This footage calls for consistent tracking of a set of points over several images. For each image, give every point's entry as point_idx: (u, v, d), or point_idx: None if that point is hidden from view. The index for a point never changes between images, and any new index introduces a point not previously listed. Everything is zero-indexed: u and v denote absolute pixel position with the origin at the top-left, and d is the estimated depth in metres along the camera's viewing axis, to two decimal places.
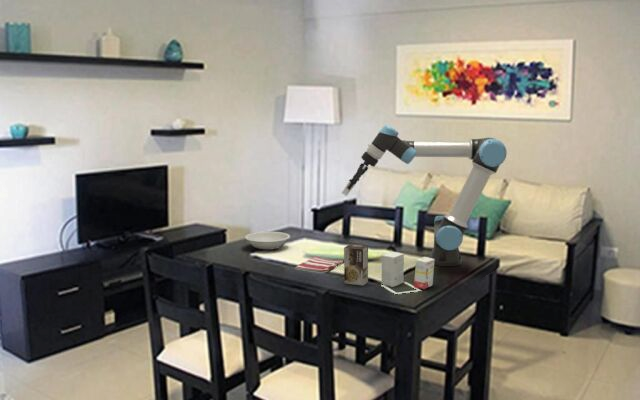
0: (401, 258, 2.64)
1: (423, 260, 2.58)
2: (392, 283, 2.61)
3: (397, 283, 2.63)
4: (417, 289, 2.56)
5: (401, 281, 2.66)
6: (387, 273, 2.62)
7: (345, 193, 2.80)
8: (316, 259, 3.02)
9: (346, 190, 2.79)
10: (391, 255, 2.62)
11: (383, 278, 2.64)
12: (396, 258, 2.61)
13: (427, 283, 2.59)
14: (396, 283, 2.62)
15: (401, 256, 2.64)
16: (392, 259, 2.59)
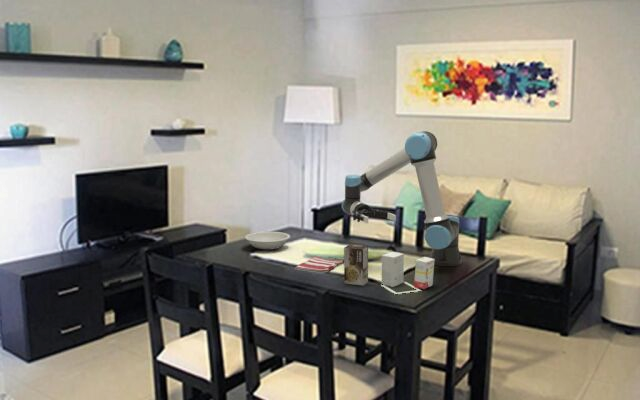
0: (401, 258, 2.64)
1: (423, 260, 2.58)
2: (392, 283, 2.61)
3: (397, 283, 2.63)
4: (417, 289, 2.56)
5: (401, 281, 2.66)
6: (387, 273, 2.62)
7: (366, 219, 2.71)
8: (316, 259, 3.02)
9: (364, 219, 2.72)
10: (391, 255, 2.62)
11: (383, 278, 2.64)
12: (396, 258, 2.61)
13: (427, 283, 2.59)
14: (396, 283, 2.62)
15: (401, 256, 2.64)
16: (392, 259, 2.59)
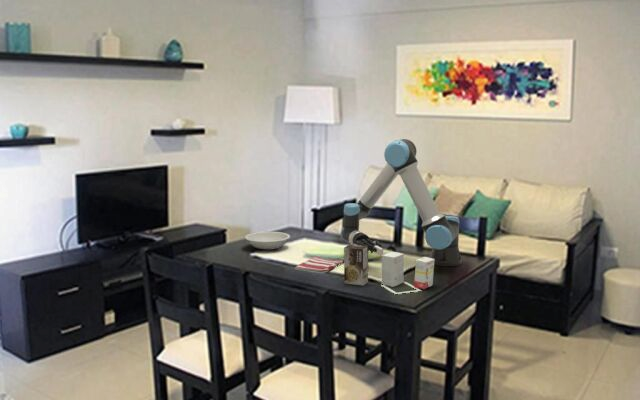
0: (401, 258, 2.64)
1: (423, 260, 2.58)
2: (392, 283, 2.61)
3: (397, 283, 2.63)
4: (417, 289, 2.56)
5: (401, 281, 2.66)
6: (387, 273, 2.62)
7: (379, 251, 2.72)
8: (316, 259, 3.02)
9: (377, 251, 2.74)
10: (391, 255, 2.62)
11: (383, 278, 2.64)
12: (396, 258, 2.61)
13: (427, 283, 2.59)
14: (396, 283, 2.62)
15: (401, 256, 2.64)
16: (392, 259, 2.59)
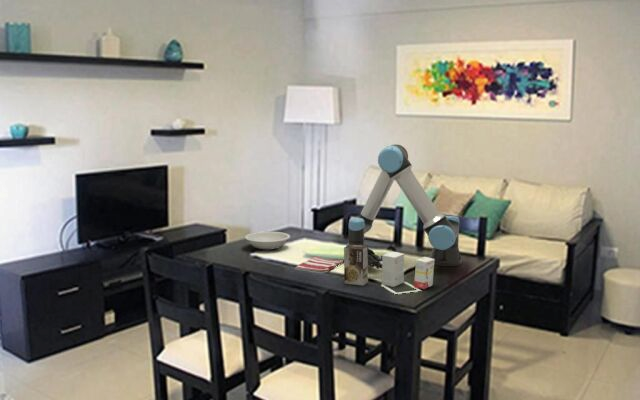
0: (401, 258, 2.63)
1: (423, 260, 2.58)
2: (393, 283, 2.61)
3: (397, 283, 2.63)
4: (417, 289, 2.56)
5: (401, 281, 2.65)
6: (387, 272, 2.62)
7: None
8: (316, 259, 3.02)
9: None
10: (392, 255, 2.62)
11: (383, 278, 2.64)
12: (397, 258, 2.60)
13: (427, 283, 2.59)
14: (396, 283, 2.62)
15: (402, 256, 2.63)
16: (393, 259, 2.59)
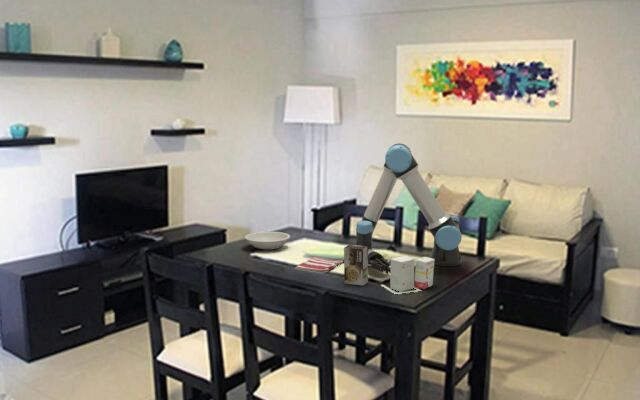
0: (411, 263, 2.56)
1: (423, 260, 2.58)
2: (400, 288, 2.54)
3: (405, 288, 2.56)
4: (417, 289, 2.56)
5: (411, 287, 2.57)
6: (395, 277, 2.55)
7: None
8: (316, 259, 3.02)
9: None
10: (400, 259, 2.55)
11: (391, 282, 2.57)
12: (404, 263, 2.53)
13: (427, 283, 2.59)
14: (404, 288, 2.55)
15: (411, 261, 2.55)
16: (400, 264, 2.52)
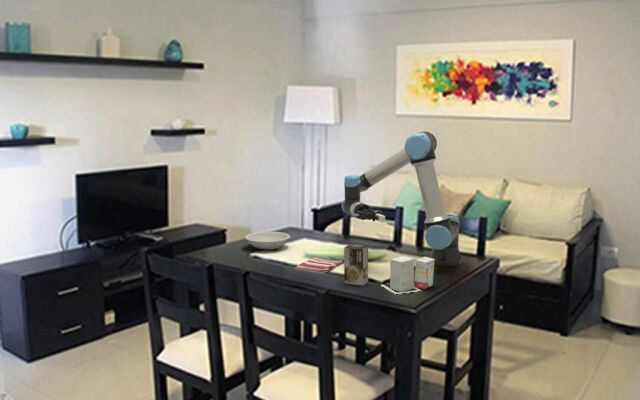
0: (411, 263, 2.56)
1: (423, 260, 2.58)
2: (400, 288, 2.54)
3: (405, 289, 2.56)
4: (417, 289, 2.56)
5: (411, 287, 2.57)
6: (395, 277, 2.55)
7: (381, 218, 2.70)
8: (316, 259, 3.02)
9: (379, 219, 2.71)
10: (400, 259, 2.55)
11: (391, 283, 2.57)
12: (404, 263, 2.53)
13: (427, 283, 2.59)
14: (404, 288, 2.55)
15: (411, 261, 2.56)
16: (399, 264, 2.52)
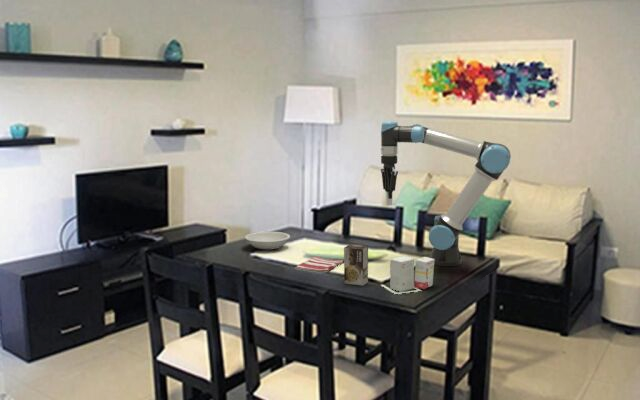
0: (411, 263, 2.56)
1: (423, 260, 2.58)
2: (400, 288, 2.54)
3: (405, 289, 2.56)
4: (417, 289, 2.56)
5: (411, 287, 2.57)
6: (395, 277, 2.55)
7: (390, 203, 2.90)
8: (316, 259, 3.02)
9: (389, 200, 2.89)
10: (400, 259, 2.55)
11: (391, 283, 2.57)
12: (404, 263, 2.53)
13: (427, 283, 2.59)
14: (404, 288, 2.55)
15: (411, 261, 2.56)
16: (399, 264, 2.52)
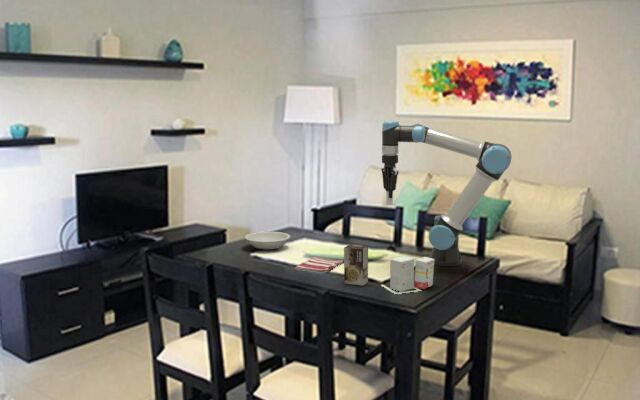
0: (411, 263, 2.56)
1: (423, 260, 2.58)
2: (400, 288, 2.54)
3: (405, 289, 2.56)
4: (417, 289, 2.56)
5: (411, 287, 2.57)
6: (395, 277, 2.55)
7: (390, 203, 2.90)
8: (316, 259, 3.02)
9: (389, 200, 2.89)
10: (400, 259, 2.55)
11: (391, 283, 2.57)
12: (404, 263, 2.53)
13: (427, 283, 2.59)
14: (404, 288, 2.55)
15: (411, 261, 2.56)
16: (399, 264, 2.52)
